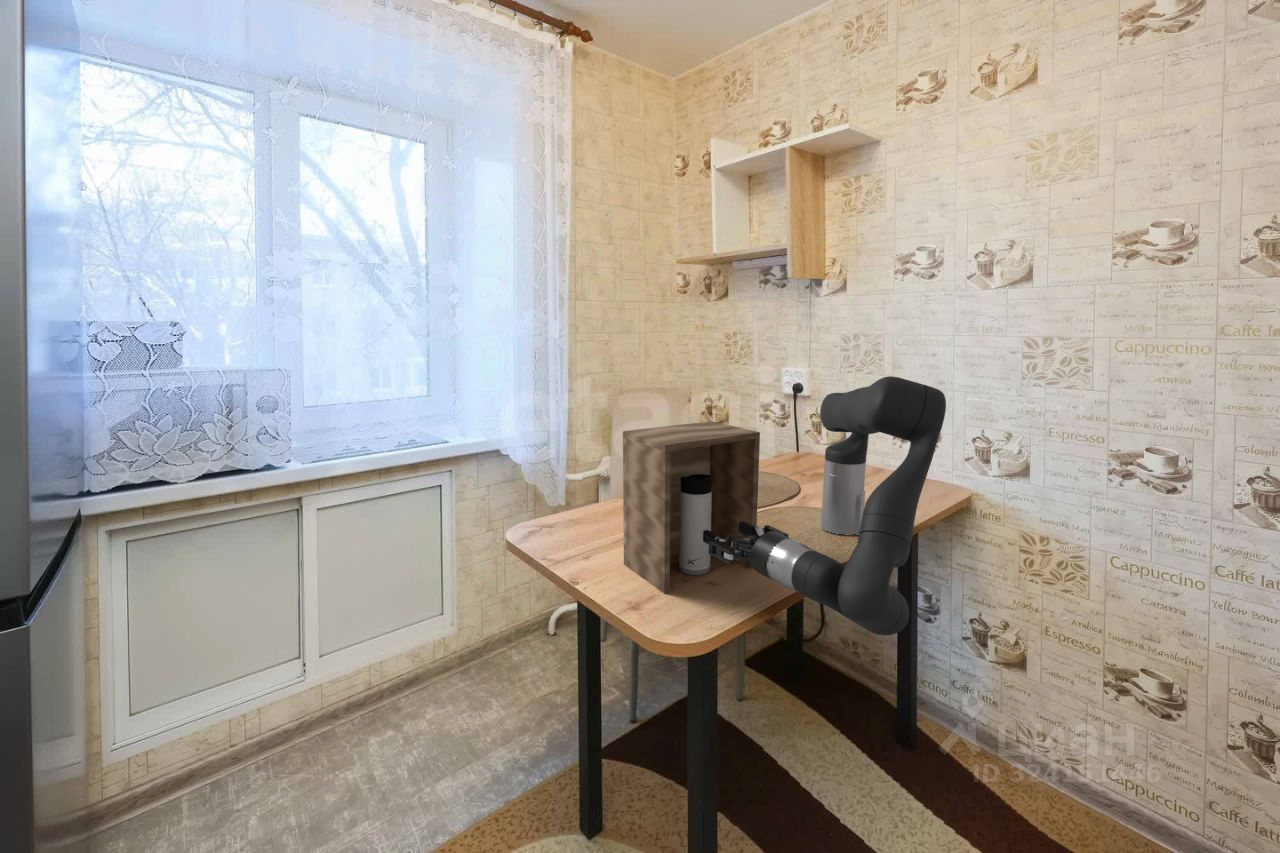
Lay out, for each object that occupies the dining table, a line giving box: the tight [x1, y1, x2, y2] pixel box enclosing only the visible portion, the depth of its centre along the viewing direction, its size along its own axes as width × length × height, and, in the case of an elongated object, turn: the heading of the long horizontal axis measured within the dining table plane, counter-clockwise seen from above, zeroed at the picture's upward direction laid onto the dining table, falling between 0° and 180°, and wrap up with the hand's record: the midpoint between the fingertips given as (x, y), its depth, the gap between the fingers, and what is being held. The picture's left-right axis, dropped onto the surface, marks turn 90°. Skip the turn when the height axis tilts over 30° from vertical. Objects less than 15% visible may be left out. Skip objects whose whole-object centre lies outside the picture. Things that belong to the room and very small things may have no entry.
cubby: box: [622, 420, 761, 594], centre depth 114 cm, size 15×22×28 cm
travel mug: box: [678, 474, 712, 576], centre depth 113 cm, size 6×7×20 cm
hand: (722, 530), depth 106 cm, fingers open, 8 cm apart
